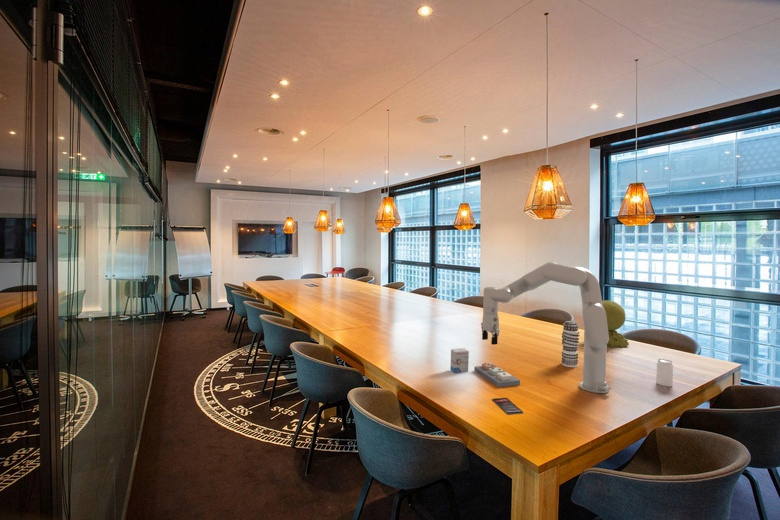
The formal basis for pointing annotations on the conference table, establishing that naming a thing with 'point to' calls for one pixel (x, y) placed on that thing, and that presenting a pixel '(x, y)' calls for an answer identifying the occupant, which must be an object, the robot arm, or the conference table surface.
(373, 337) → the conference table surface
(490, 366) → the tile three
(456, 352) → the ink box
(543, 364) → the conference table surface
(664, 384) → the can
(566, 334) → the leaning tower model
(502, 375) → the tile one
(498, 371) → the tile two
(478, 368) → the console
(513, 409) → the smartphone
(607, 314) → the trophy
